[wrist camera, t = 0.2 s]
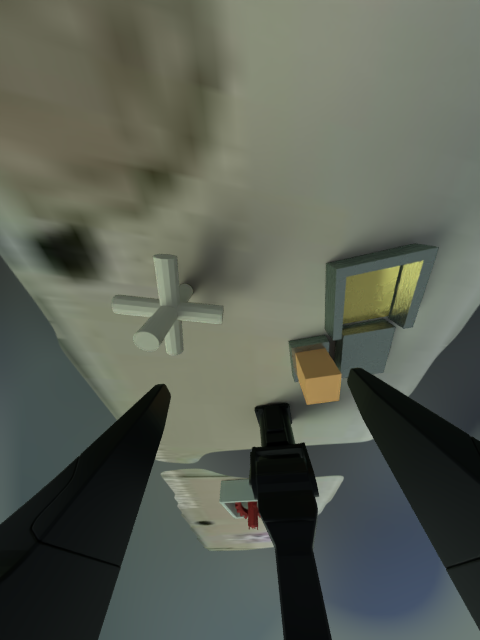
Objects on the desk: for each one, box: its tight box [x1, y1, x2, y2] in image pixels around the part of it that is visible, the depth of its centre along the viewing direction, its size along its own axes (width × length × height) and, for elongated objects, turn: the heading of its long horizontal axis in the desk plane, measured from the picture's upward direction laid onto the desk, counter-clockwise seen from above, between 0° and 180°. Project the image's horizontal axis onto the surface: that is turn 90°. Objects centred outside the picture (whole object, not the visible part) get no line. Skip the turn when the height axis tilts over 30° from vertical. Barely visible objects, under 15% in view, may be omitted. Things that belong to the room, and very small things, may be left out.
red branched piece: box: [235, 501, 261, 530], centre depth 52 cm, size 11×12×8 cm
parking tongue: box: [289, 335, 329, 382], centre depth 26 cm, size 7×5×2 cm
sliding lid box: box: [325, 244, 439, 378], centre depth 22 cm, size 17×9×2 cm, turn 13°
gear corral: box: [220, 479, 259, 518], centre depth 54 cm, size 17×16×4 cm
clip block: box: [295, 348, 342, 405], centre depth 23 cm, size 5×4×4 cm
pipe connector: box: [111, 254, 223, 355], centre depth 17 cm, size 10×10×10 cm
